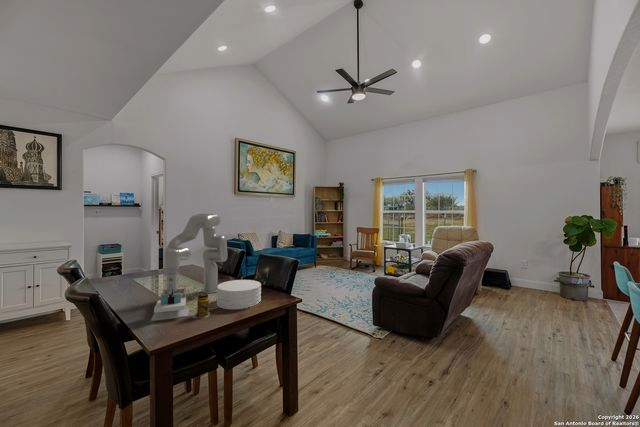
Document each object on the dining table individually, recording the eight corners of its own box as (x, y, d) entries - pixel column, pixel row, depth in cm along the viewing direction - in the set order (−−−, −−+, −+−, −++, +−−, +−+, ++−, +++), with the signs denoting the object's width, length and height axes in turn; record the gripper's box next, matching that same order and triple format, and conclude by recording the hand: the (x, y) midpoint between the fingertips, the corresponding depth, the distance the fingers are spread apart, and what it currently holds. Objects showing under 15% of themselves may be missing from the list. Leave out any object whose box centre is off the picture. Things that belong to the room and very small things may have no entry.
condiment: (208, 317, 154) (208, 296, 154) (191, 318, 152) (192, 297, 152) (210, 312, 161) (210, 292, 161) (194, 313, 159) (195, 293, 159)
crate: (185, 301, 179) (186, 288, 179) (184, 308, 167) (184, 293, 167) (163, 304, 174) (163, 290, 174) (160, 311, 162) (160, 295, 162)
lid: (186, 301, 167) (186, 289, 167) (184, 309, 153) (184, 296, 153) (158, 304, 161) (158, 291, 161) (154, 312, 147) (154, 299, 147)
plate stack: (269, 302, 182) (269, 285, 182) (230, 313, 162) (231, 293, 162) (245, 293, 201) (246, 277, 201) (208, 302, 181) (209, 284, 180)
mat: (189, 309, 167) (189, 308, 167) (187, 316, 155) (187, 315, 155) (154, 312, 159) (154, 311, 159) (151, 321, 147) (151, 319, 147)
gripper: (178, 273, 151) (177, 306, 151) (180, 267, 166) (179, 298, 166) (162, 274, 148) (161, 308, 148) (166, 268, 163) (165, 299, 163)
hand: (171, 302), depth 157 cm, fingers closed on lid, 3 cm apart
